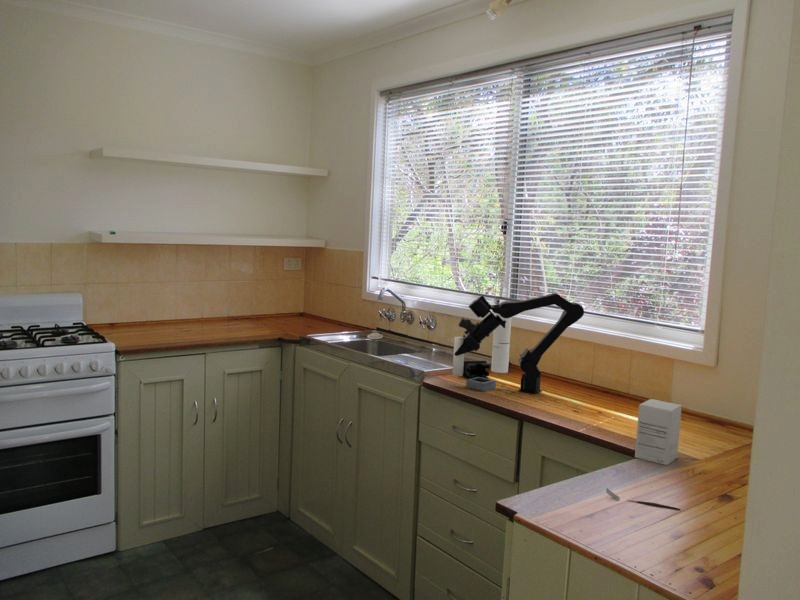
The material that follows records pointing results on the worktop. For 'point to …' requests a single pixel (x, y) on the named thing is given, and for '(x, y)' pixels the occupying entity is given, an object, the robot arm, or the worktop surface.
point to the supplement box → (658, 431)
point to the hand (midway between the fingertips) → (455, 353)
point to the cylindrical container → (501, 347)
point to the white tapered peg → (458, 357)
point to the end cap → (475, 369)
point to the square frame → (481, 383)
